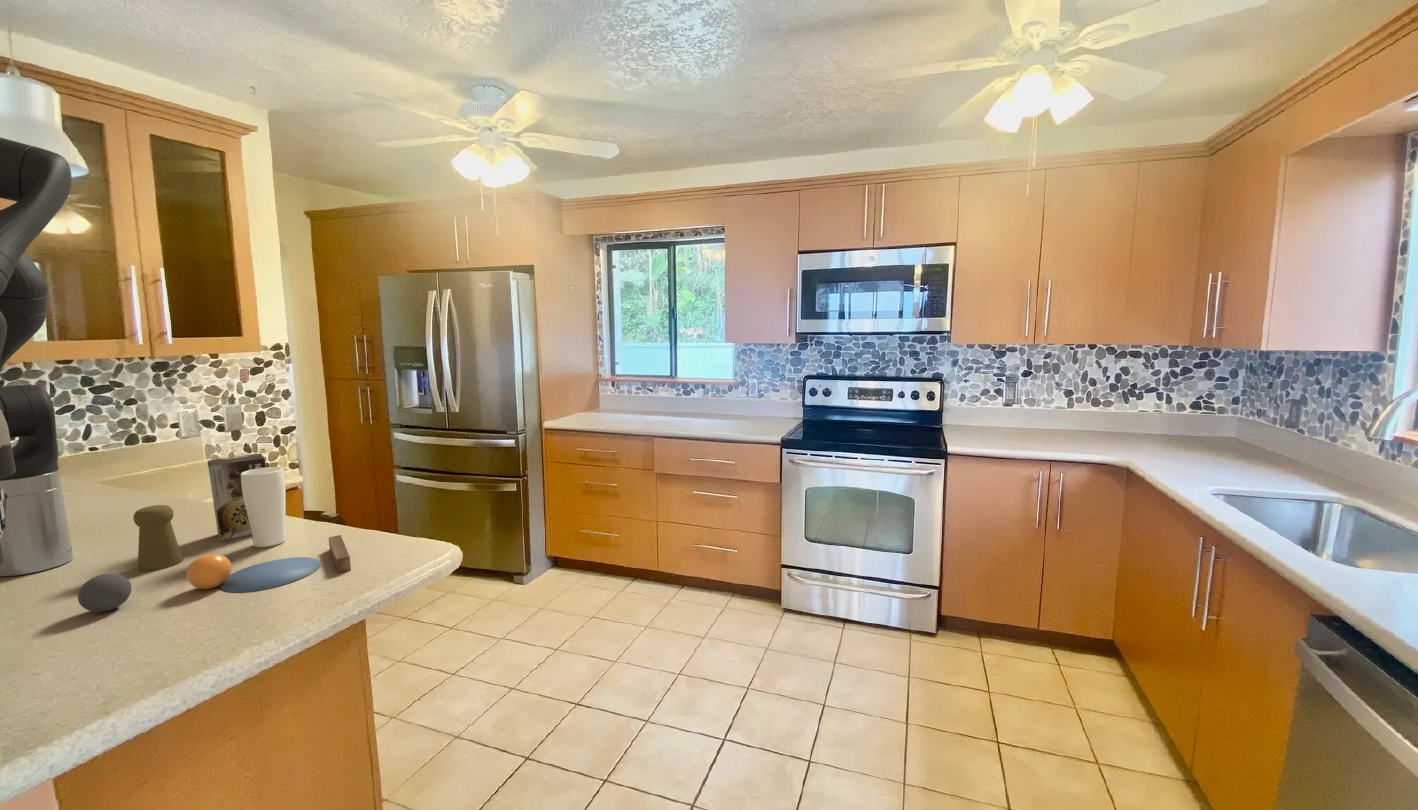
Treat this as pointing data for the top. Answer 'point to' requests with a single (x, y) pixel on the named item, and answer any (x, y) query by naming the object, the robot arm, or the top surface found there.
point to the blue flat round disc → (270, 574)
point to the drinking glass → (265, 505)
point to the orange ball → (209, 571)
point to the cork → (156, 538)
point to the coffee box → (231, 493)
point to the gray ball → (104, 592)
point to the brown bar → (339, 554)
